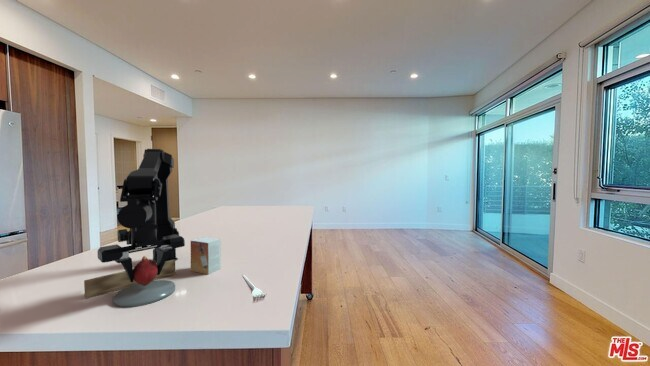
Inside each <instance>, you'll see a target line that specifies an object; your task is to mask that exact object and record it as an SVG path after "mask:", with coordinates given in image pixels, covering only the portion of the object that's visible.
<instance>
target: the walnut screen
mask: <svg viewBox="0 0 650 366" xmlns="http://www.w3.org/2000/svg"><path fill="white" fill-rule="evenodd" d="M175 275H177V271H176V260H170V261H165V264H164V266H163V268H162V270H161V272H160V275H157V276H156V277H155V279H154V280H153V281H155V280H162V279H165V278H169V277H171V276H175ZM135 284H138V283H137V282H135V281H134V279H133V282H131V281H130V280H129V277H128V275H127V273H126V271H125V270H124V271H123V270H122V271H119V272H114V273H110V274H106V275H101V276H98V277H94V278H89V279H85V280H84V281H83V286H84V287H83V289H84V291H83V292H84V293H83V295H84V299H85V300H87V299H91V298H95V297H99V296H102V295H106V294H110V293H113V292H118V291H120V290H122V289H124V288H127V287H129V286H132V285H135Z"/></svg>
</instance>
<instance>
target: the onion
mask: <svg viewBox="0 0 650 366" xmlns="http://www.w3.org/2000/svg"><path fill="white" fill-rule="evenodd" d="M156 264H157V263H156V262H155V261H153V260H151V259H150V258H149V259H148V258H147V256H145V255H143V257H142V258H141V260H140V261H139V262H138V263H137V264H136V265H135V266H134V267H133V276H134V278H133V279H134V281H135V282H137V283H138V284H141V285H143V286H146V285H148V284H149V283H150V282H151V281H153V280H154V279H155V277H156V276H157V272H158V268H157V265H156ZM154 281H155V280H154Z"/></svg>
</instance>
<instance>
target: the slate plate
mask: <svg viewBox="0 0 650 366" xmlns="http://www.w3.org/2000/svg"><path fill="white" fill-rule="evenodd" d="M175 291H176V284H175V282H174V281H171V280H164V279H163V280H162V279H158V280H154V281H151V282H150V283H149V284H148V285H146V286H143V285H141V284H135V285H132V286H129V287H127V288H124V289H121V290H118V291H116V292H115V294H113V296H112V304H113V305H114V306H116V307H120V308H133V307H142V306H146V305H150V304H153V303H156V302H159V301H162V300H163V299H166V298H168V297H169V296H171V295H172V294H173V293H174V292H175Z"/></svg>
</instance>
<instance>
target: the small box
mask: <svg viewBox="0 0 650 366" xmlns="http://www.w3.org/2000/svg"><path fill="white" fill-rule="evenodd" d="M221 244H222V243H221V239H220V238H211V237H200V238H195V239H191V240H190V271H191V272H193V273H194V272H196V273H200V274H204V275H210V274H213V273H215V272H217V271H219V270H221V267H222V266H221V261H222V258H221Z"/></svg>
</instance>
